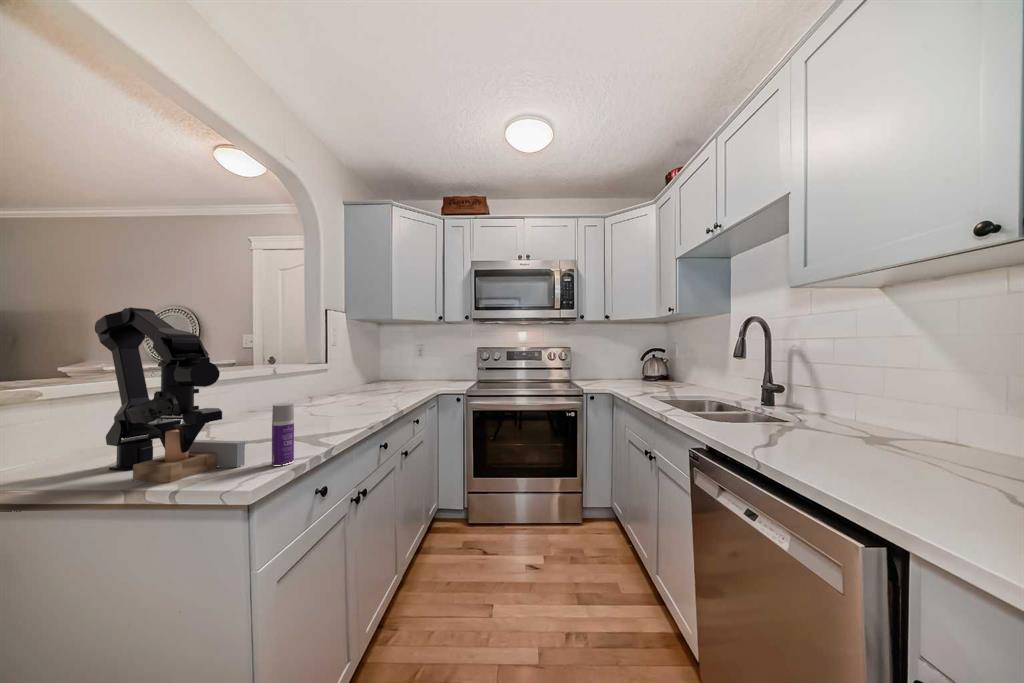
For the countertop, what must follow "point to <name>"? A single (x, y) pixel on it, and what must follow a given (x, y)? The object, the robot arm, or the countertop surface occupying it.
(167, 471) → the socket block
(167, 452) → the dowel
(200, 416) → the robot arm
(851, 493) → the countertop surface
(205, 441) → the backstop wall
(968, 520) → the countertop surface
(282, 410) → the container
